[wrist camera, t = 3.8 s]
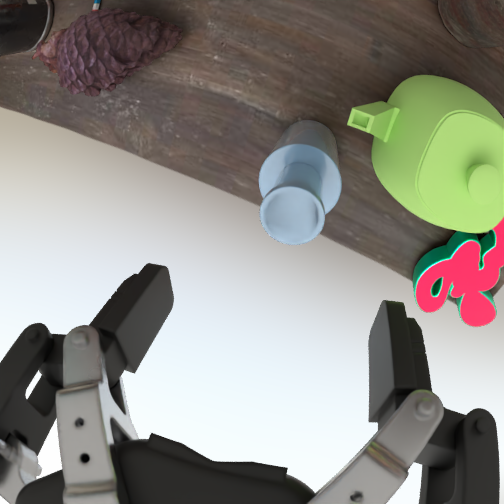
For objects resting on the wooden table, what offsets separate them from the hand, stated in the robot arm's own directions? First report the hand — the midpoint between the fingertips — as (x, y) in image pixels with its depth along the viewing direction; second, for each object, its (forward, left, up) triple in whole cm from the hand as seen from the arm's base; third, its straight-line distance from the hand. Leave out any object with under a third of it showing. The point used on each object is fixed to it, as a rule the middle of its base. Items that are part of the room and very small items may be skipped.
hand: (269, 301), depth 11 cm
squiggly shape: (+23, -9, -22) cm, 33 cm away
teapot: (+13, +3, -23) cm, 26 cm away
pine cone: (-21, +12, -23) cm, 33 cm away
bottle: (0, 0, -23) cm, 23 cm away
